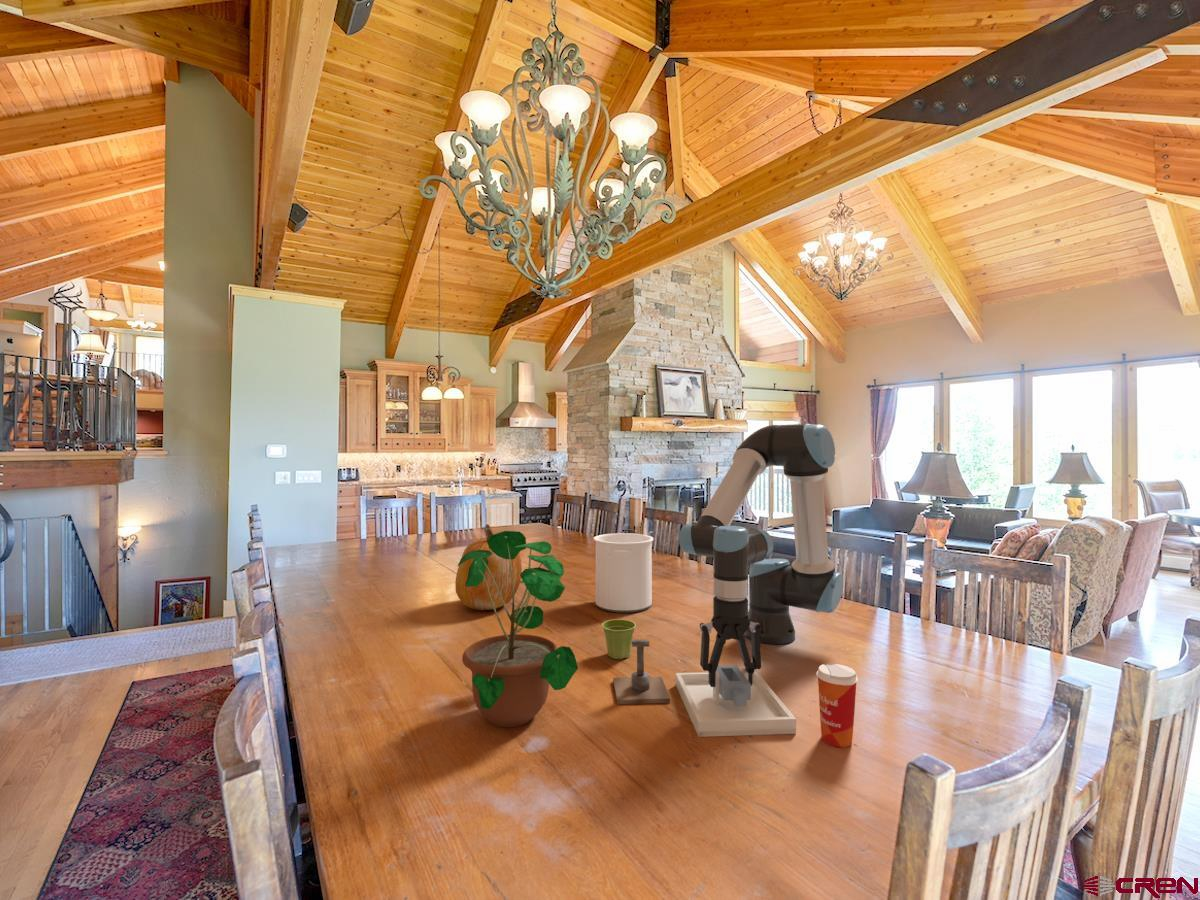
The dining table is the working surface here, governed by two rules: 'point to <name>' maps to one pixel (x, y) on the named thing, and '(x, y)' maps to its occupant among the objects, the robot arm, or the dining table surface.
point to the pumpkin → (488, 578)
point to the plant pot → (618, 637)
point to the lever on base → (640, 683)
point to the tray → (733, 709)
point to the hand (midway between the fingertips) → (730, 700)
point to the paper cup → (837, 703)
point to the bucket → (623, 572)
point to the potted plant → (517, 639)
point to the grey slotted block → (733, 685)
